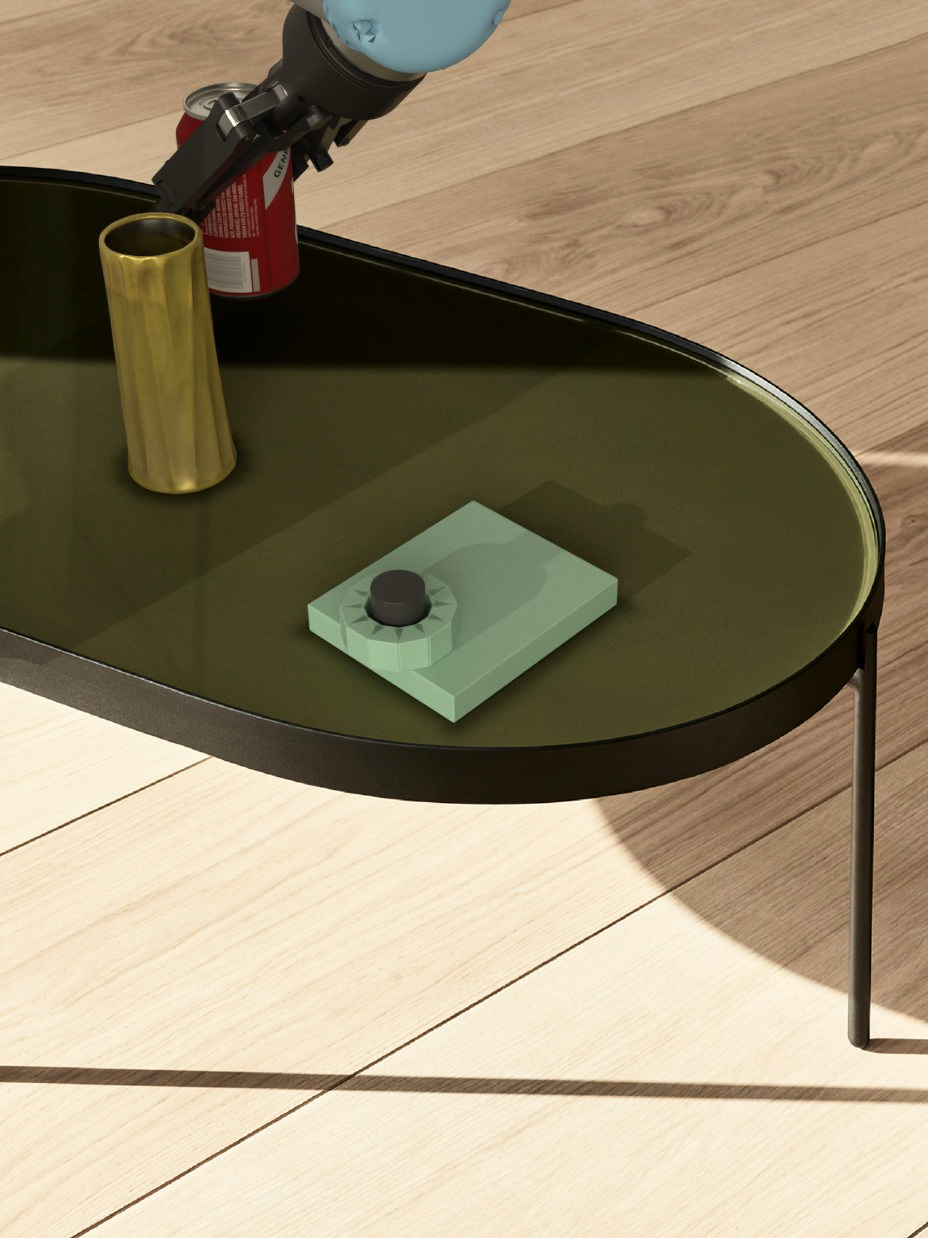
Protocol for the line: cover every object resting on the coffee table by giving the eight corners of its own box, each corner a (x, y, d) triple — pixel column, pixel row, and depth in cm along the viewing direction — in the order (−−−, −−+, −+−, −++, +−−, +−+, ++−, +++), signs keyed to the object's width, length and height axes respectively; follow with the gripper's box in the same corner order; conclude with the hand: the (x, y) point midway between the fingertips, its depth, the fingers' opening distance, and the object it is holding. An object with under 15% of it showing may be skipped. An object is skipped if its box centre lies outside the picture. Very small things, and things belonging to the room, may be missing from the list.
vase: (231, 495, 93) (202, 261, 84) (120, 497, 93) (79, 263, 84) (242, 434, 97) (215, 206, 88) (136, 435, 97) (99, 207, 88)
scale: (435, 737, 78) (433, 681, 75) (290, 642, 83) (284, 587, 81) (617, 604, 85) (620, 549, 83) (473, 525, 90) (472, 471, 88)
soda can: (255, 318, 103) (238, 131, 95) (171, 290, 106) (148, 106, 98) (321, 274, 107) (310, 92, 100) (238, 248, 110) (221, 69, 103)
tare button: (398, 636, 79) (397, 610, 78) (360, 612, 80) (358, 586, 79) (437, 610, 80) (436, 584, 79) (398, 587, 81) (397, 561, 80)
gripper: (271, 142, 82) (111, 323, 101) (538, 34, 93) (349, 215, 112) (190, 7, 81) (45, 214, 100) (468, -86, 93) (290, 117, 112)
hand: (205, 214), depth 106 cm, fingers closed on soda can, 7 cm apart
